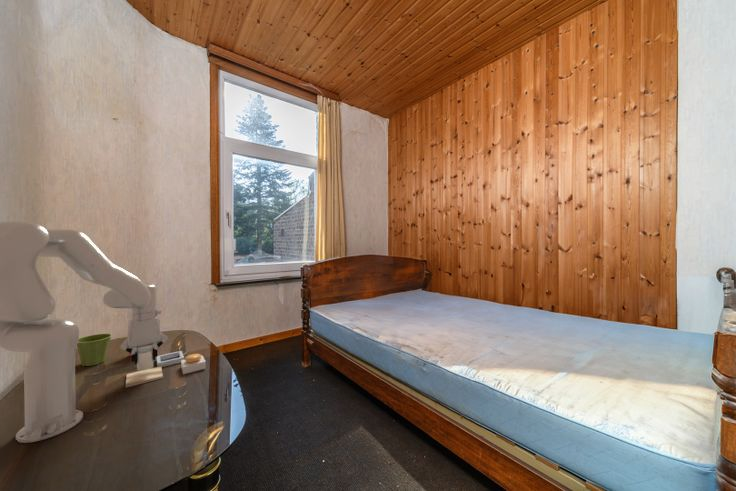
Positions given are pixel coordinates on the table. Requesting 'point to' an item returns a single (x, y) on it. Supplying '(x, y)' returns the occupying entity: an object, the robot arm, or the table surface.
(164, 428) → the table surface
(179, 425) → the table surface
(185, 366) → the white square base
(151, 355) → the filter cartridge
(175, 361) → the filter socket
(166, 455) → the table surface
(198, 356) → the orange mushroom button
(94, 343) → the plant pot
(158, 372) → the wooden pad
